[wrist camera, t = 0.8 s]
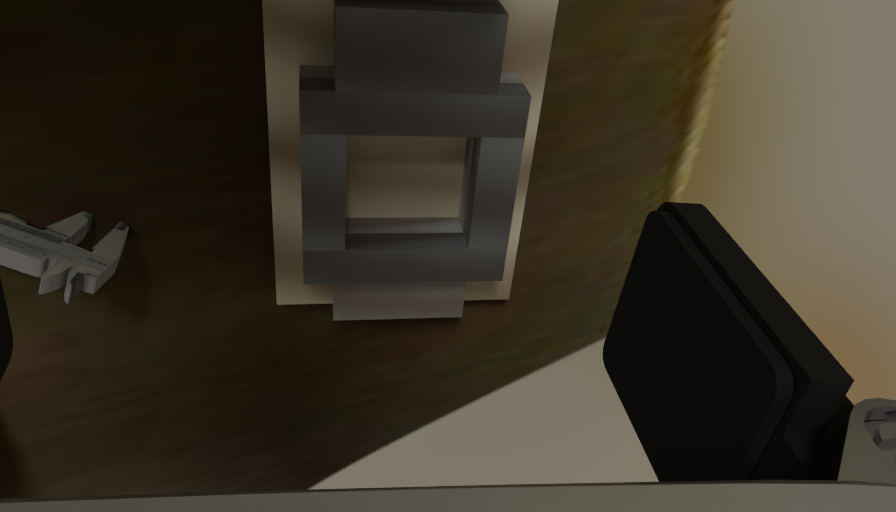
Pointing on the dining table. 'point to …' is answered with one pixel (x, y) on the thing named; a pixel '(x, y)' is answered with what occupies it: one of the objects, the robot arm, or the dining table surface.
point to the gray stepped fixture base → (401, 149)
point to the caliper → (60, 253)
